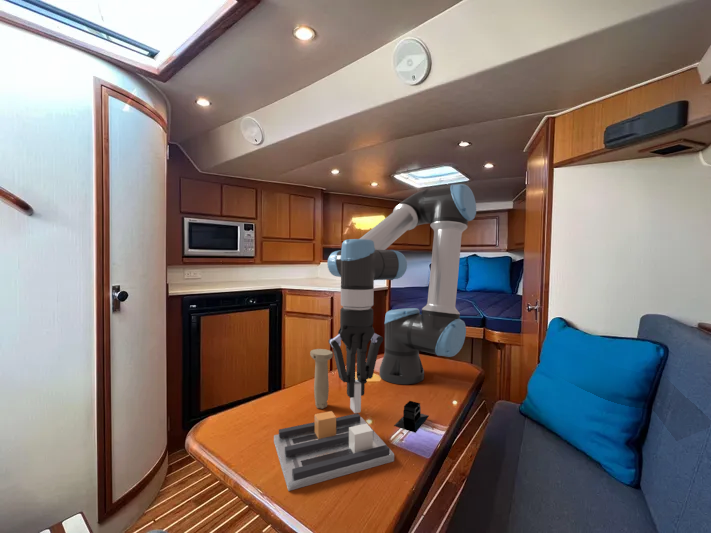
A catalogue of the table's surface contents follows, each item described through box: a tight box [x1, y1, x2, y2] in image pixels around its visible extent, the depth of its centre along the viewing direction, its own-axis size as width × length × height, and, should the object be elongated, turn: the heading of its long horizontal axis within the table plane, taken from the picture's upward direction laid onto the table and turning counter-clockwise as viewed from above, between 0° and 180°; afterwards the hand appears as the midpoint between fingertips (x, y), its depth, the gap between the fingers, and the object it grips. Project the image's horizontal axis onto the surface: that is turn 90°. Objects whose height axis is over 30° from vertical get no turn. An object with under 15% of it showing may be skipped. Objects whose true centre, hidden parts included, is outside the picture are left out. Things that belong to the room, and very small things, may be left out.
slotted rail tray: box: [278, 413, 391, 480], centre depth 66 cm, size 19×16×1 cm
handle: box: [309, 348, 334, 410], centre depth 86 cm, size 5×6×15 cm
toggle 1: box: [314, 410, 337, 439], centre depth 70 cm, size 4×3×4 cm
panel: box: [273, 416, 395, 492], centre depth 66 cm, size 21×16×2 cm
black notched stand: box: [393, 400, 430, 434], centre depth 79 cm, size 12×7×5 cm, turn 148°
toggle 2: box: [349, 422, 374, 453], centre depth 65 cm, size 4×3×4 cm
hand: (355, 409), depth 73 cm, fingers closed
